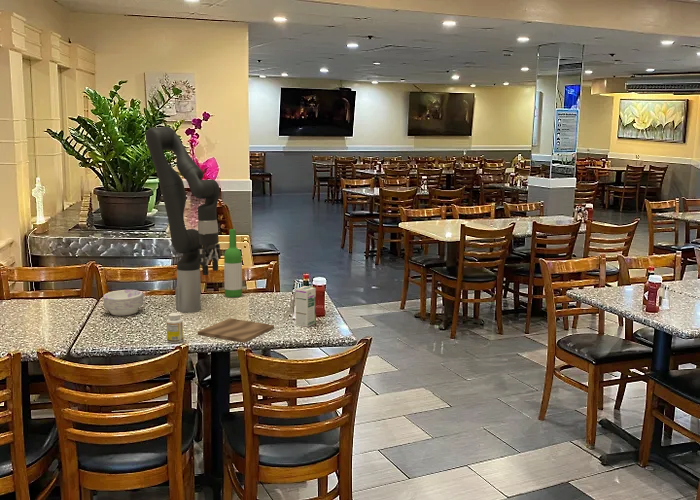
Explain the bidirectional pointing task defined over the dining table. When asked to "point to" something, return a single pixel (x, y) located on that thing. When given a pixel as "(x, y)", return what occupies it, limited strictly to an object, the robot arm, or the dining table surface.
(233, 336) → the walnut board
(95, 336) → the dining table surface
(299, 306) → the syrup box
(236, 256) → the wine bottle
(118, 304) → the paper bowls
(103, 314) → the dining table surface
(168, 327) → the supplement bottle
